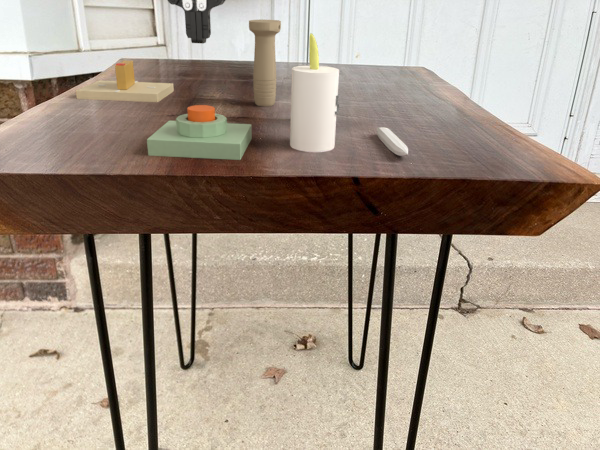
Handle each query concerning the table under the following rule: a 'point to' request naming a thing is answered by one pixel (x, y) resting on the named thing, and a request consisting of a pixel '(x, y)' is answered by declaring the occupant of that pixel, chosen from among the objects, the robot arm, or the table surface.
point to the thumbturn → (125, 75)
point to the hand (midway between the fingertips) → (198, 42)
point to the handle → (264, 60)
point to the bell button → (201, 113)
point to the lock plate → (125, 91)
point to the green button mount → (200, 139)
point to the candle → (314, 104)
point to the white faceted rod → (392, 141)
